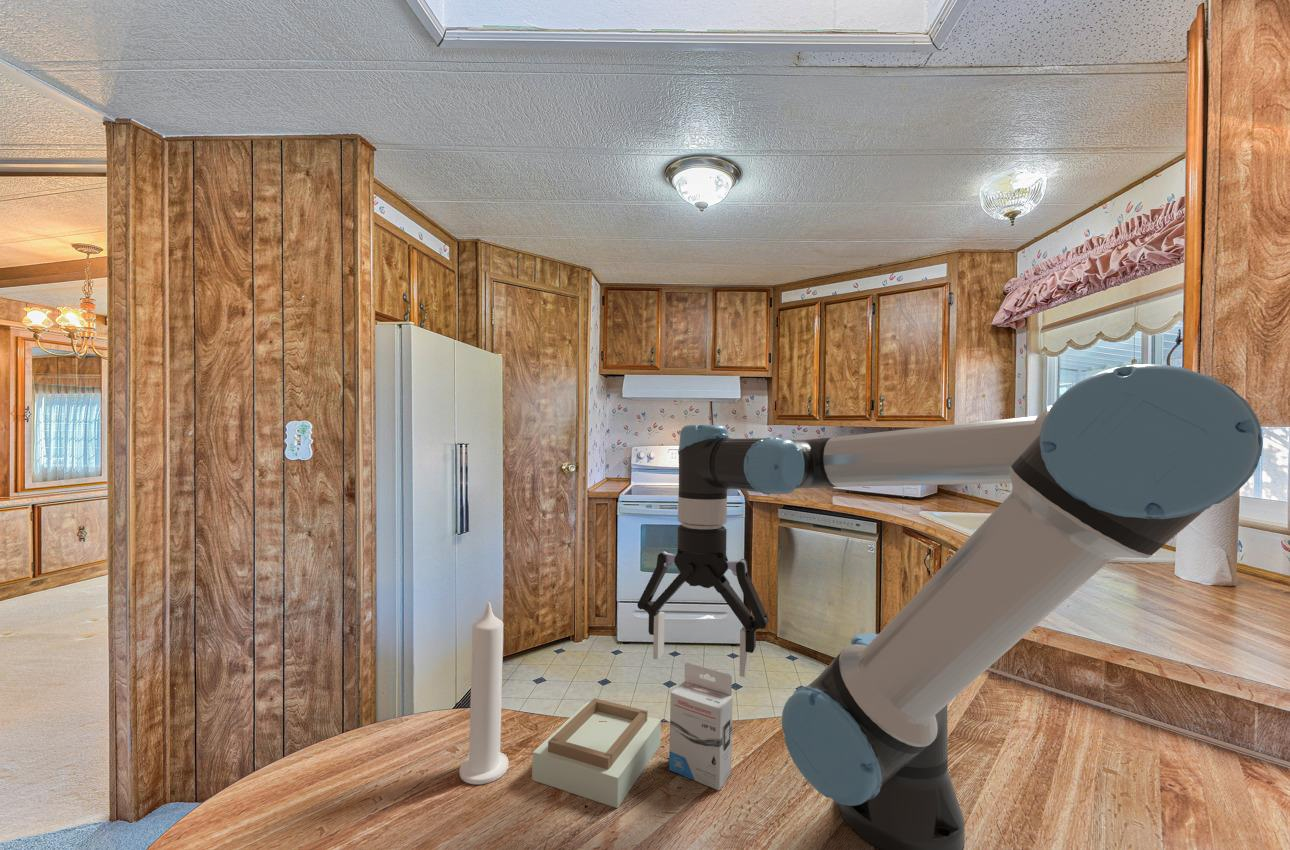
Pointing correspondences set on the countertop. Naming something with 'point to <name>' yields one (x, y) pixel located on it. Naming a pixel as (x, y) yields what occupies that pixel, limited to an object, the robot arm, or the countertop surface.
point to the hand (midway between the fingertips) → (699, 664)
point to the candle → (485, 703)
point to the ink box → (702, 727)
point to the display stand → (598, 751)
